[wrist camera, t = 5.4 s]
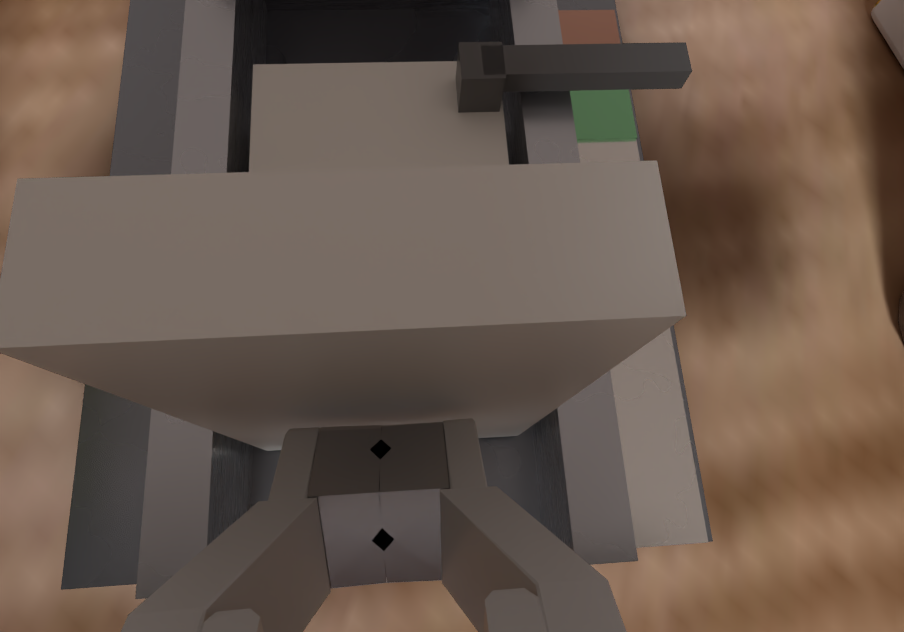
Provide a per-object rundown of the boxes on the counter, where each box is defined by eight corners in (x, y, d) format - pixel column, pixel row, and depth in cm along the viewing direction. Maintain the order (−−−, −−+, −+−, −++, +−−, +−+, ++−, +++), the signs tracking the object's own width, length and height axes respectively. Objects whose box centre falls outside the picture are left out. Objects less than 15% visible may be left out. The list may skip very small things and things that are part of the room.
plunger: (267, 450, 14) (-12, 348, 5) (275, 124, 17) (103, -335, 8) (685, 425, 15) (1114, 296, 6) (630, 115, 18) (862, -313, 8)
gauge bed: (84, 583, 14) (-204, 650, 8) (148, -14, 20) (11, -279, 13) (694, 539, 15) (904, 564, 9) (598, -17, 21) (683, -264, 14)
